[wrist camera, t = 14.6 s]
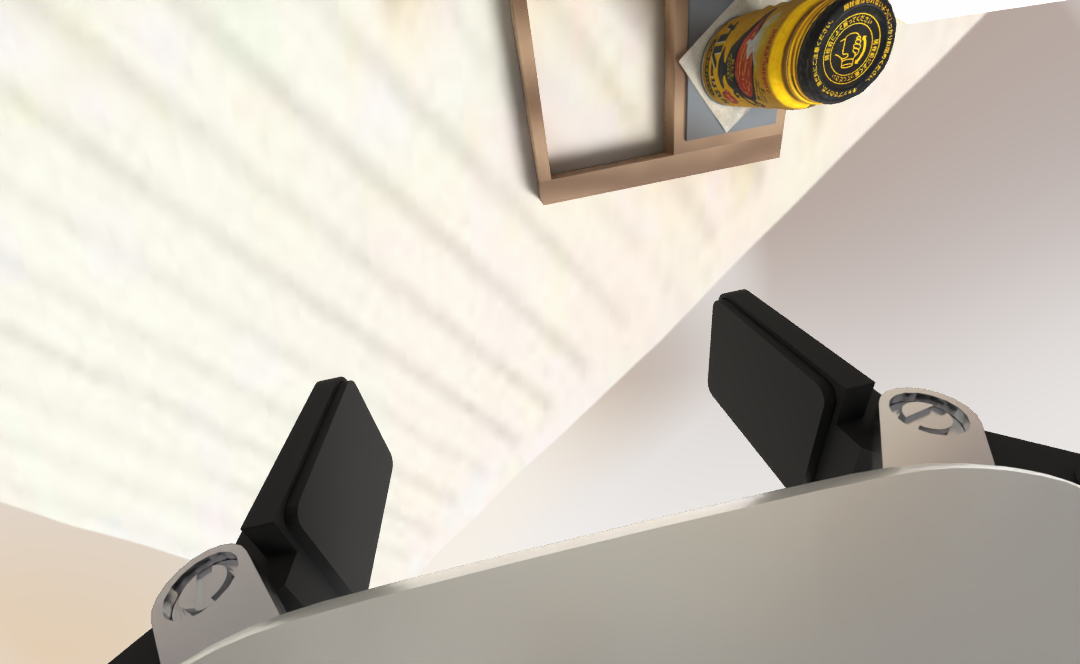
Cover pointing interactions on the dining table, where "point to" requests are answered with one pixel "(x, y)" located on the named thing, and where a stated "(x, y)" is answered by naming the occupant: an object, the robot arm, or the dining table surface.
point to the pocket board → (688, 118)
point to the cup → (952, 8)
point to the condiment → (789, 54)
